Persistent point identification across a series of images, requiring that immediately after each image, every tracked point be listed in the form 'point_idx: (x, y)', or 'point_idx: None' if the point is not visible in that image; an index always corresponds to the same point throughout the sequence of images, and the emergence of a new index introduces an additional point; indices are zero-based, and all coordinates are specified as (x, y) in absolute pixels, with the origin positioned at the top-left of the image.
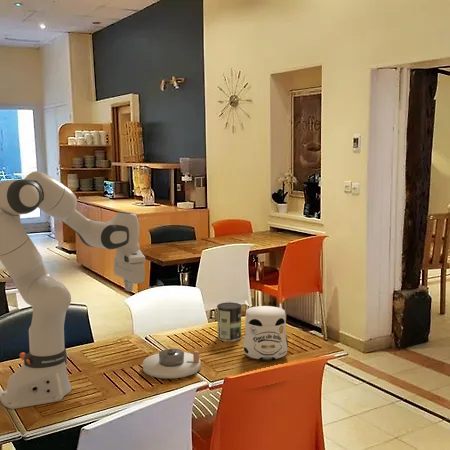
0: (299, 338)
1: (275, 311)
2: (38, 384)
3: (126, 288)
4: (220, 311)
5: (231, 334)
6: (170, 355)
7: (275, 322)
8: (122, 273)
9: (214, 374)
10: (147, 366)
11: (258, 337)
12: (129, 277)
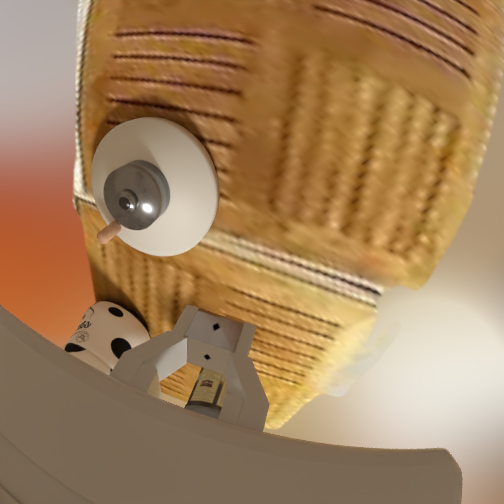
0: (161, 383)
1: None
2: None
3: (219, 328)
4: (209, 400)
5: None
6: (117, 187)
7: None
8: (204, 478)
9: (95, 223)
10: (153, 128)
11: (81, 327)
12: (21, 367)
